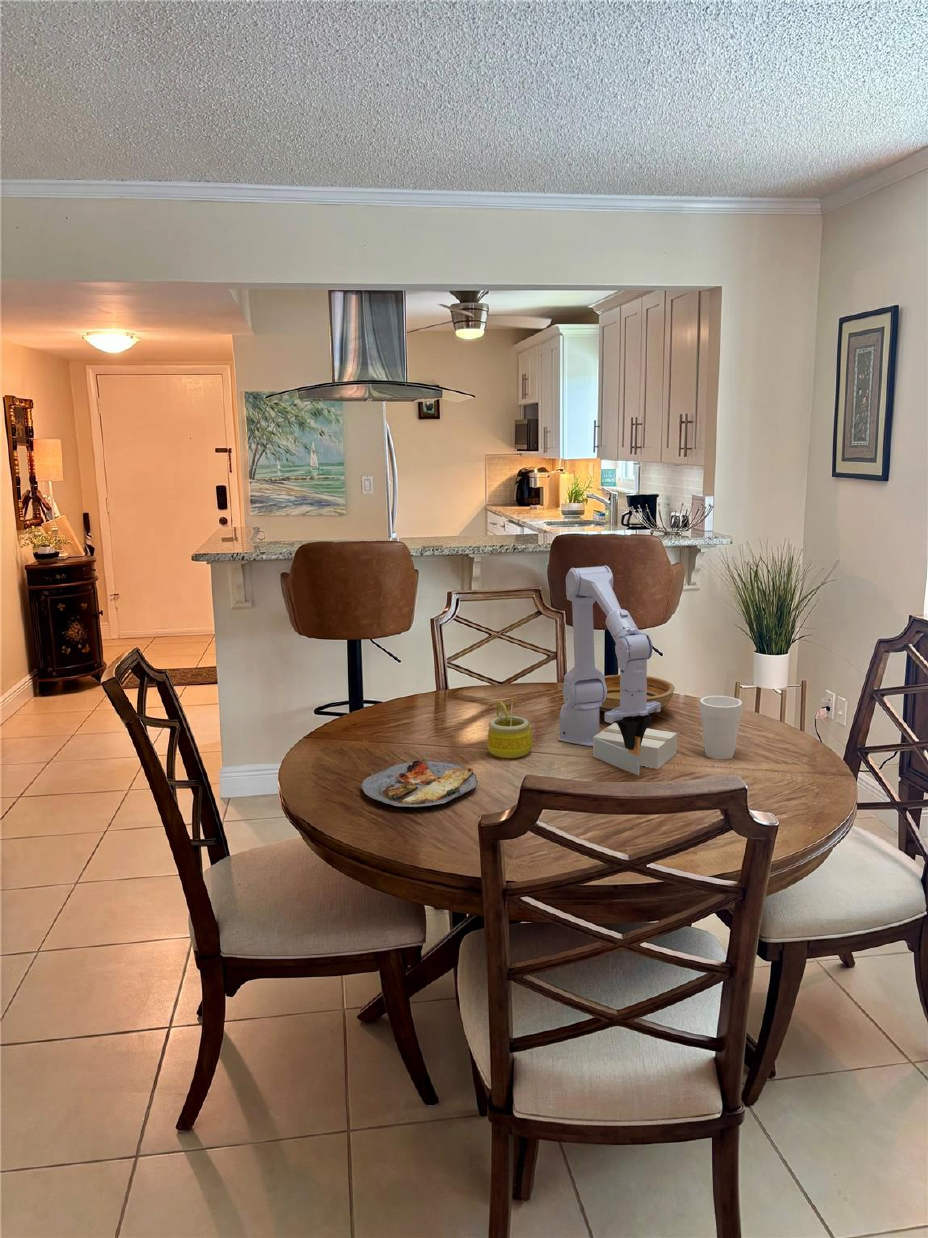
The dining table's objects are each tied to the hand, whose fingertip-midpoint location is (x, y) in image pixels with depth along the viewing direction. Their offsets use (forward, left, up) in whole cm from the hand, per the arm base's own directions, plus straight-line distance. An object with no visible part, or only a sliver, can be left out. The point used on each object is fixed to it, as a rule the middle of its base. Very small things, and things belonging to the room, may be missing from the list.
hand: (632, 747), depth 196 cm
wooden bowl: (-18, +41, -7) cm, 45 cm away
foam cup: (+13, +22, -7) cm, 26 cm away
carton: (-4, +12, -6) cm, 14 cm away
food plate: (-36, -30, -7) cm, 48 cm away
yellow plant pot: (-31, 0, -7) cm, 32 cm away
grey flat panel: (-5, +3, -6) cm, 8 cm away
